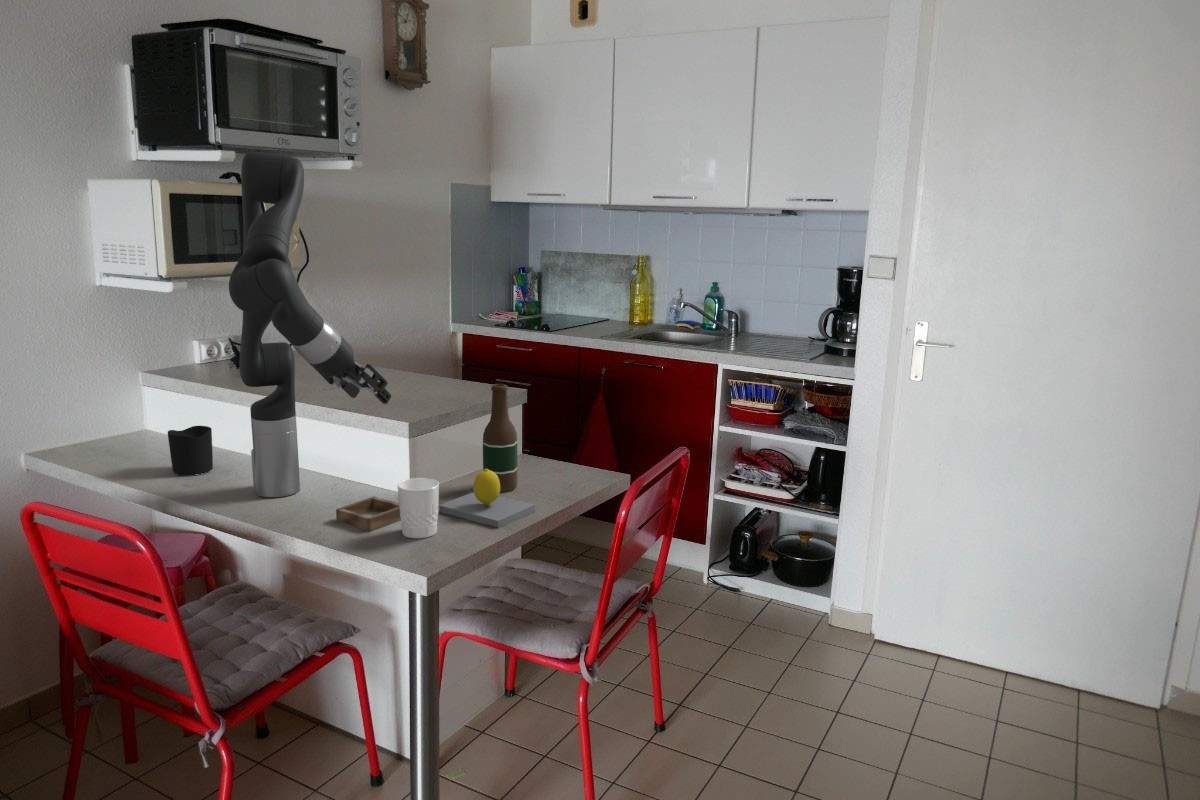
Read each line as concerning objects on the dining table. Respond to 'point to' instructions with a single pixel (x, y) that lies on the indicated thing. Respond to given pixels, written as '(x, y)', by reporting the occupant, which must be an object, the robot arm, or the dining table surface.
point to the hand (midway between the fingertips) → (371, 397)
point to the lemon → (486, 487)
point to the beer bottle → (501, 441)
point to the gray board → (487, 510)
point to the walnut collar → (356, 510)
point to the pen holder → (191, 450)
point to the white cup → (418, 507)
